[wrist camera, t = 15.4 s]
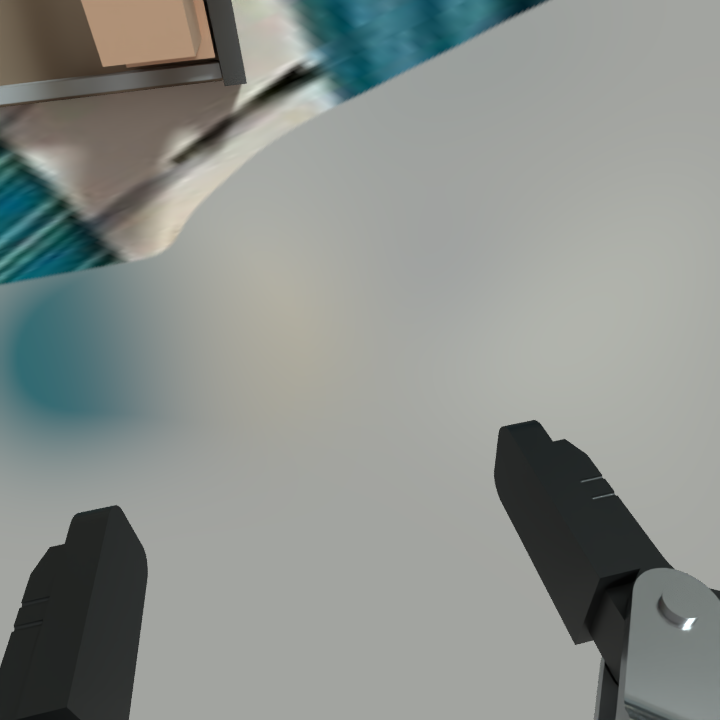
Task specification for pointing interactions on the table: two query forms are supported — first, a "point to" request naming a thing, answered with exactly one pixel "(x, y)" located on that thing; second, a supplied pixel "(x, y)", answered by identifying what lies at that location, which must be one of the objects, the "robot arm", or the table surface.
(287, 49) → the table surface
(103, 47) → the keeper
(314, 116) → the table surface
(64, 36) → the track
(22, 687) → the robot arm
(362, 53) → the table surface
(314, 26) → the table surface
